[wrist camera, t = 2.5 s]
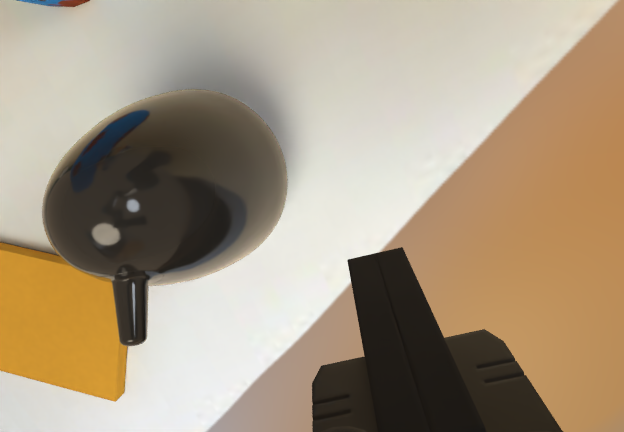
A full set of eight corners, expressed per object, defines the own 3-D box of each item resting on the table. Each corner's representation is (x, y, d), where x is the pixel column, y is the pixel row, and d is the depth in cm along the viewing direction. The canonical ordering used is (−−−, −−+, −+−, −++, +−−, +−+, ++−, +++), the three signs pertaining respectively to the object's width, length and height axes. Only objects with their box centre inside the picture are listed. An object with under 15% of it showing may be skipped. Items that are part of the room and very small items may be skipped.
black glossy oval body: (175, 258, 35) (7, 374, 20) (134, 109, 33) (-85, 117, 18) (316, 235, 32) (241, 348, 18) (281, 74, 30) (166, 51, 16)
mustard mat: (132, 272, 35) (123, 278, 34) (124, 392, 38) (115, 401, 37) (-38, 233, 37) (-52, 237, 36) (-35, 350, 40) (-48, 357, 39)
